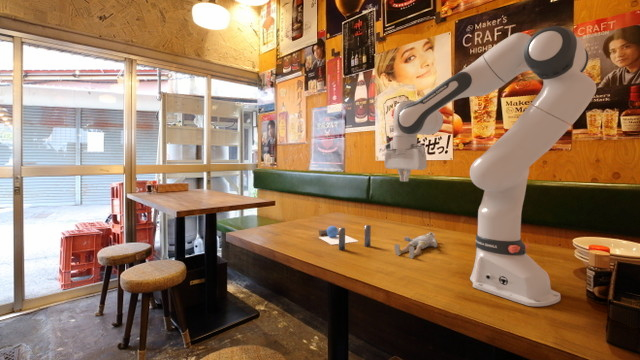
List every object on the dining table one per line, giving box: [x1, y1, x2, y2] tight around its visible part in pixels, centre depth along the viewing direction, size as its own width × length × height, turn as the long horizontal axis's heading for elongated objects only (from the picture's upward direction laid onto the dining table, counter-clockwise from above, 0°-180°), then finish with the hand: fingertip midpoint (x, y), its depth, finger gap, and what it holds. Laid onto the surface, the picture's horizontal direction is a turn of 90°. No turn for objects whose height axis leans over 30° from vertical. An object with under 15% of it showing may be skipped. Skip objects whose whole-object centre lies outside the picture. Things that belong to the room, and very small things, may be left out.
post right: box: [363, 224, 372, 248], centre depth 133 cm, size 3×3×9 cm
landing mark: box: [318, 234, 360, 246], centre depth 144 cm, size 14×14×1 cm
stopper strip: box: [318, 229, 328, 237], centre depth 154 cm, size 2×9×2 cm, turn 115°
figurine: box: [394, 231, 438, 259], centre depth 129 cm, size 13×6×30 cm
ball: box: [326, 225, 339, 237], centre depth 148 cm, size 6×6×6 cm
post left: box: [338, 227, 346, 251], centre depth 127 cm, size 3×3×9 cm
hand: (404, 181), depth 117 cm, fingers closed
